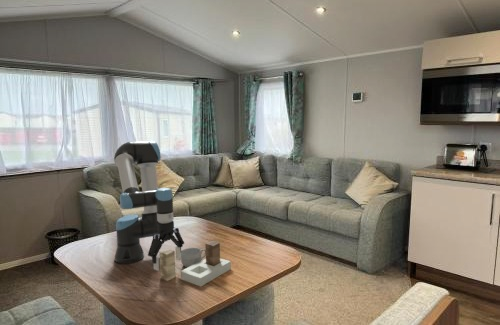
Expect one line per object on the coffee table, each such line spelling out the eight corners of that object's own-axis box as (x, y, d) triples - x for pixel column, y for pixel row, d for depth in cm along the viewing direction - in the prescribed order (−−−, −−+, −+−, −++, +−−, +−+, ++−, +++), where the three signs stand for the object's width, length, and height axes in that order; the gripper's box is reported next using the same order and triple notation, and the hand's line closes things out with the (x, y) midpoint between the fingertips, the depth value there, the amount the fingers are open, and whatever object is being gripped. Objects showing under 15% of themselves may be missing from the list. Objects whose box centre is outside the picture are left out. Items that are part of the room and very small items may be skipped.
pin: (160, 278, 161) (159, 252, 159) (168, 274, 165) (167, 248, 163) (167, 280, 158) (166, 254, 156) (175, 276, 162) (174, 250, 161)
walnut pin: (206, 268, 168) (205, 243, 166) (212, 265, 172) (212, 240, 170) (213, 271, 165) (213, 245, 164) (220, 267, 169) (219, 242, 168)
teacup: (181, 271, 168) (181, 255, 167) (180, 262, 179) (179, 248, 178) (209, 267, 172) (208, 252, 171) (206, 259, 182) (205, 245, 181)
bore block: (180, 279, 159) (180, 271, 159) (211, 263, 177) (211, 255, 177) (200, 286, 152) (200, 278, 151) (231, 268, 170) (230, 261, 169)
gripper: (148, 229, 146) (151, 276, 148) (190, 216, 166) (192, 257, 168) (138, 226, 150) (140, 272, 152) (179, 214, 170) (181, 254, 173)
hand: (167, 264), depth 160 cm, fingers open, 13 cm apart
